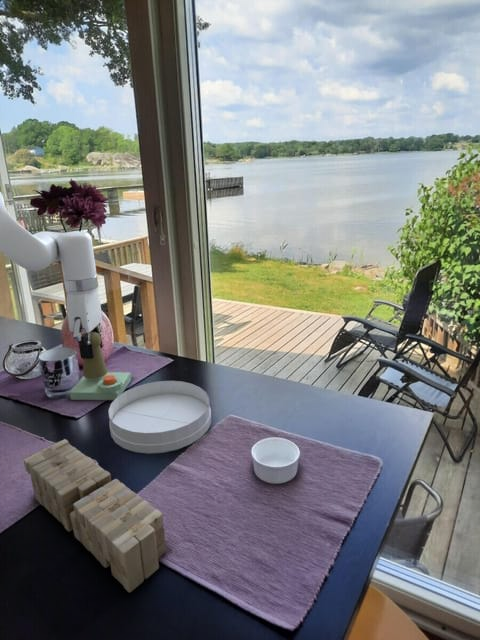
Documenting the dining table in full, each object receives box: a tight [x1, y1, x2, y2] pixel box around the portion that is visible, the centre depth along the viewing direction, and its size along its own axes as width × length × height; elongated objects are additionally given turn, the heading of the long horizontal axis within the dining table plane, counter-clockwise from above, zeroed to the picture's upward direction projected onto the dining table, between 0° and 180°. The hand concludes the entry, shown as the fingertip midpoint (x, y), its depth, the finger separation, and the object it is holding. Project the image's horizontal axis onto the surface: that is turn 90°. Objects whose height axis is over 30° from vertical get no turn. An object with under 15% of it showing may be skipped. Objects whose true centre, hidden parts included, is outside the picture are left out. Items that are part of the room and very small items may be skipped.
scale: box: [69, 371, 132, 401], centre depth 112 cm, size 12×11×4 cm
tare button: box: [103, 375, 116, 385], centre depth 109 cm, size 3×3×2 cm
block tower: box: [23, 438, 167, 593], centre depth 70 cm, size 8×8×29 cm
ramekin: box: [250, 437, 301, 485], centre depth 81 cm, size 9×9×4 cm
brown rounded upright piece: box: [81, 332, 109, 379], centre depth 112 cm, size 6×6×11 cm
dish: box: [108, 380, 212, 454], centre depth 97 cm, size 22×22×5 cm
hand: (92, 352), depth 112 cm, fingers closed on brown rounded upright piece, 5 cm apart
